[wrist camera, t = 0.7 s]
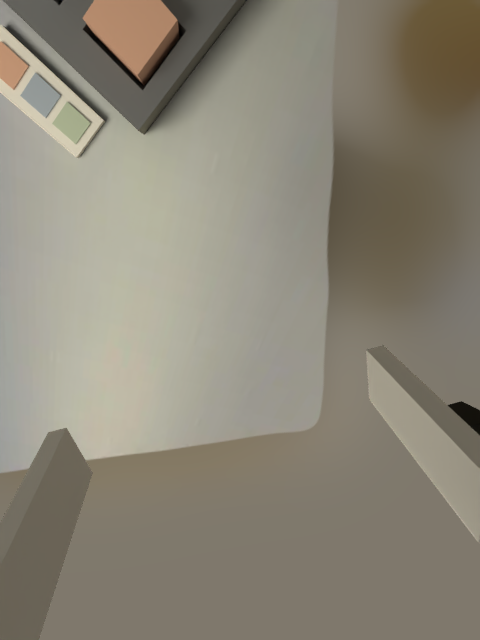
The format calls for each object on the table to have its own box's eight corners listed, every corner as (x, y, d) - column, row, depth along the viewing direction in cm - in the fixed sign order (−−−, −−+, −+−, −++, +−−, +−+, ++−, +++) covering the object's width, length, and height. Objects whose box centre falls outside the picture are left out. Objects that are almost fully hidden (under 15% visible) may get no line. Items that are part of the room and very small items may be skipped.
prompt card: (-22, 71, 27) (-28, 69, 26) (4, 27, 26) (-1, 23, 25) (78, 158, 30) (75, 157, 30) (105, 121, 29) (102, 119, 29)
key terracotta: (96, 36, 26) (82, 18, 22) (132, -17, 25) (122, -44, 21) (144, 85, 27) (137, 75, 24) (179, 37, 26) (177, 19, 23)
